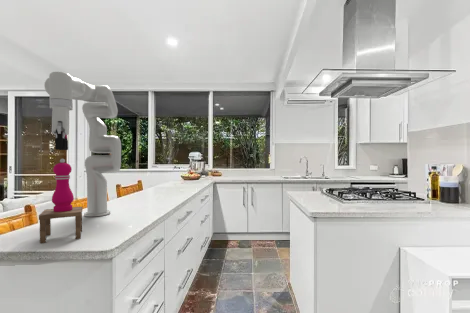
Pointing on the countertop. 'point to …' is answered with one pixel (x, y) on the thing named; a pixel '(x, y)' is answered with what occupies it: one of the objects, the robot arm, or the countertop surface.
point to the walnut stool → (50, 214)
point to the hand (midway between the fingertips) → (62, 149)
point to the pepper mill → (62, 188)
